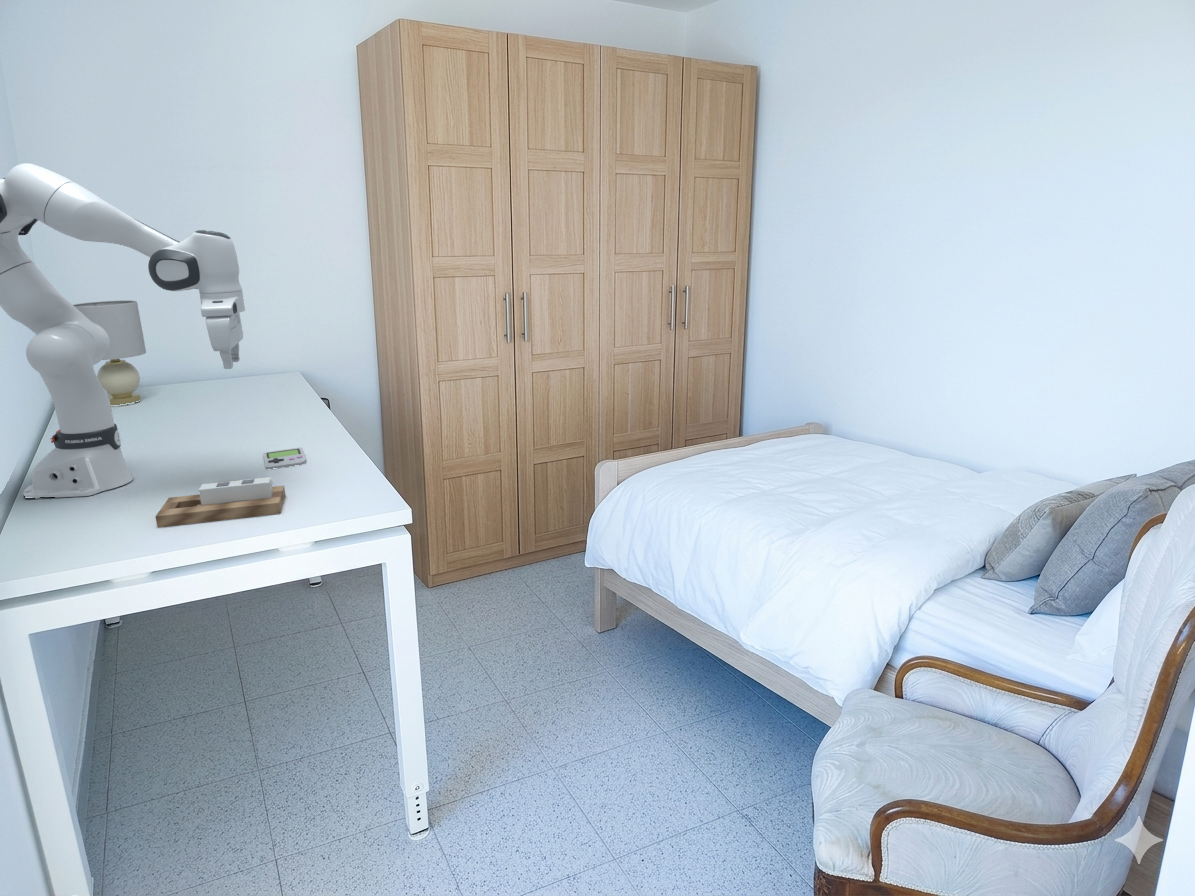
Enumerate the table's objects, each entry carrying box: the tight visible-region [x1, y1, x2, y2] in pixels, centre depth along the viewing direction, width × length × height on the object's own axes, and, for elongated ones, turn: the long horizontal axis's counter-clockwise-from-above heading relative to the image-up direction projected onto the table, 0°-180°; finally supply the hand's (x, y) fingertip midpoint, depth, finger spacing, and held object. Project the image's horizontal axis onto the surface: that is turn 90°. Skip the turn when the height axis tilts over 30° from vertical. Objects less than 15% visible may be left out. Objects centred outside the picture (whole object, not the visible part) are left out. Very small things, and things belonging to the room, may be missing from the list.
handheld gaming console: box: [262, 447, 307, 470], centre depth 209 cm, size 10×2×15 cm
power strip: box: [198, 476, 274, 505], centre depth 172 cm, size 14×4×6 cm, turn 106°
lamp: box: [72, 299, 147, 405], centre depth 277 cm, size 20×20×35 cm
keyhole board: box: [154, 485, 287, 528], centre depth 172 cm, size 24×12×2 cm, turn 106°
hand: (232, 365), depth 182 cm, fingers open, 8 cm apart
